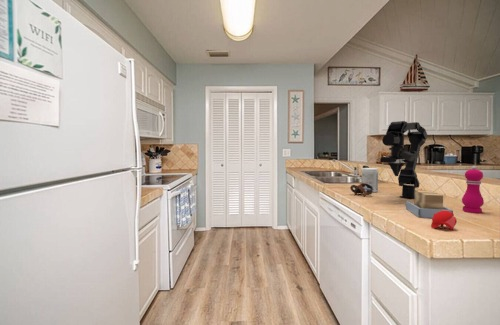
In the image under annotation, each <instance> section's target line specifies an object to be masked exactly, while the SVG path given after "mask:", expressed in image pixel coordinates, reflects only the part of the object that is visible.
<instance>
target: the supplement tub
mask: <svg viewBox="0 0 500 325" xmlns="http://www.w3.org/2000/svg"><path fill="white" fill-rule="evenodd" d="M361 183H366V184H369V185H370V186H372V188H373V190H372V191H373V192H372V193H377V192H378V191H379V169H378V168H376V167H362V168H361ZM363 188H365V191H367V190H371V189H370V188H367V186H366V185H365V187H363Z"/></svg>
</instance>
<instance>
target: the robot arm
mask: <svg viewBox="0 0 500 325" xmlns="http://www.w3.org/2000/svg"><path fill="white" fill-rule="evenodd" d="M415 130H416V131H415ZM406 132H407V133H406ZM405 133H406V135H405ZM406 136H407V137H408V142H409V144H410V147H409V149H408V150H409V151H407V148H406V147H405V138H406ZM427 139H428V133H427V130H426V128H425V127H423V126H421V124H420V122H407V121H405V120H402V121H401V120H400V121H391V122H390V124H389V125H388V127H387V131H386V133H385V135H384V136H383V137H382V139H381V140H382V144H383V145H384V146H388V147H389V148H388V151H390V155H388V156H381V157H380V159H379V163H385V164H388V166H389V167H390V169H391V171H392V173H393V174H394V175H393V176H395V177H397V180H398V186H399V187H401V188H402V189H401V190H402V191H401V195H399V197H400V198H403V199H404V198H405V199H409V200H410V199H411V200H412V199H413V200H414V199H415V190H416V188H417V189H418V188H420V181H419V179H418V175H417V172H416V168H417V163H418V158H419V154H420V150H421V147H422V146H423V145H424V144H426V141H427ZM404 165H405V167H404ZM402 167H403V168H402Z"/></svg>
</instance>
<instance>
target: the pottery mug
mask: <svg viewBox="0 0 500 325" xmlns="http://www.w3.org/2000/svg"><path fill="white" fill-rule="evenodd" d="M365 185H366V186H367V188H370V189H371V190H367V191H365V188H363V187H365ZM372 190H373V188H372V186H370V185H369V184H366V183H362V182H361V183H360V184H357V185H356V184H351V186H350V191H351V192H352V193H353V194H354V195H357V194H360V195H362V197H363V198H365V197H367V196H369V195H372V193H374V192H373V191H372Z"/></svg>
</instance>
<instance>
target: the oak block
mask: <svg viewBox="0 0 500 325" xmlns="http://www.w3.org/2000/svg"><path fill="white" fill-rule="evenodd" d="M413 201H414V203H413V204H414V205H416V206H417V207H419V208H423V209H442V210H443V206H444V195H442V194H441V193H438V192H435V191H432V190H421V189H420V190H419V189H417V190H416V189H415V198H414V200H413Z"/></svg>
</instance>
